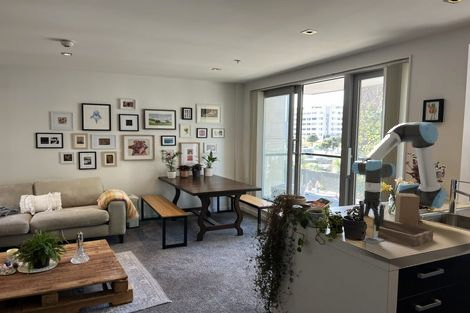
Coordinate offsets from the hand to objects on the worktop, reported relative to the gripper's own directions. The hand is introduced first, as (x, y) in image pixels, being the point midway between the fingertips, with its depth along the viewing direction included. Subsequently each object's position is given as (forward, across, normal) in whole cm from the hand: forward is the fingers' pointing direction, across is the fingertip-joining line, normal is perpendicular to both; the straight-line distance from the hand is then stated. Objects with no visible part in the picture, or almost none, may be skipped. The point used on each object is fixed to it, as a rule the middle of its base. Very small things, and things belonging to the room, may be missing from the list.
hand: (370, 235), depth 174 cm
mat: (+2, 0, 0) cm, 2 cm away
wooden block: (+3, 0, +36) cm, 36 cm away
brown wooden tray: (+2, +4, +18) cm, 19 cm away
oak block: (0, 0, 0) cm, 0 cm away
